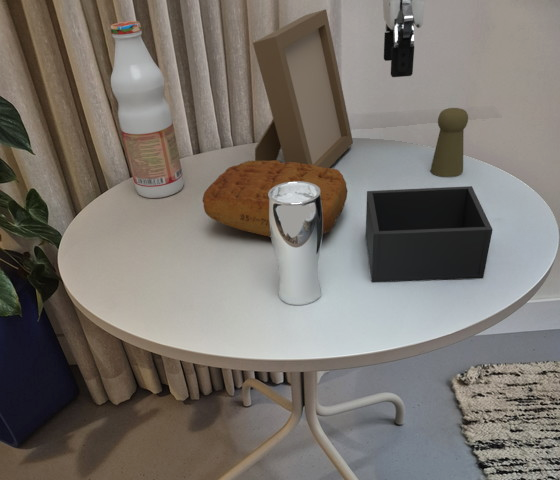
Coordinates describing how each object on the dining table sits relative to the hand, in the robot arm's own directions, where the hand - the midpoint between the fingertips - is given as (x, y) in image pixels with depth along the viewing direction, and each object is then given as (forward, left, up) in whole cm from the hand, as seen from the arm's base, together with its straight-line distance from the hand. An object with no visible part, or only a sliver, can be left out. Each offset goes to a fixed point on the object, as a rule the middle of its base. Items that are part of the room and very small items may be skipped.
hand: (397, 67), depth 90 cm
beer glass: (+16, +32, -21) cm, 41 cm away
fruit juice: (+44, -6, -21) cm, 49 cm away
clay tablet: (+20, +10, -21) cm, 30 cm away
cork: (-11, -8, -21) cm, 25 cm away
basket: (-2, +23, -20) cm, 31 cm away
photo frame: (+17, -15, -21) cm, 31 cm away
